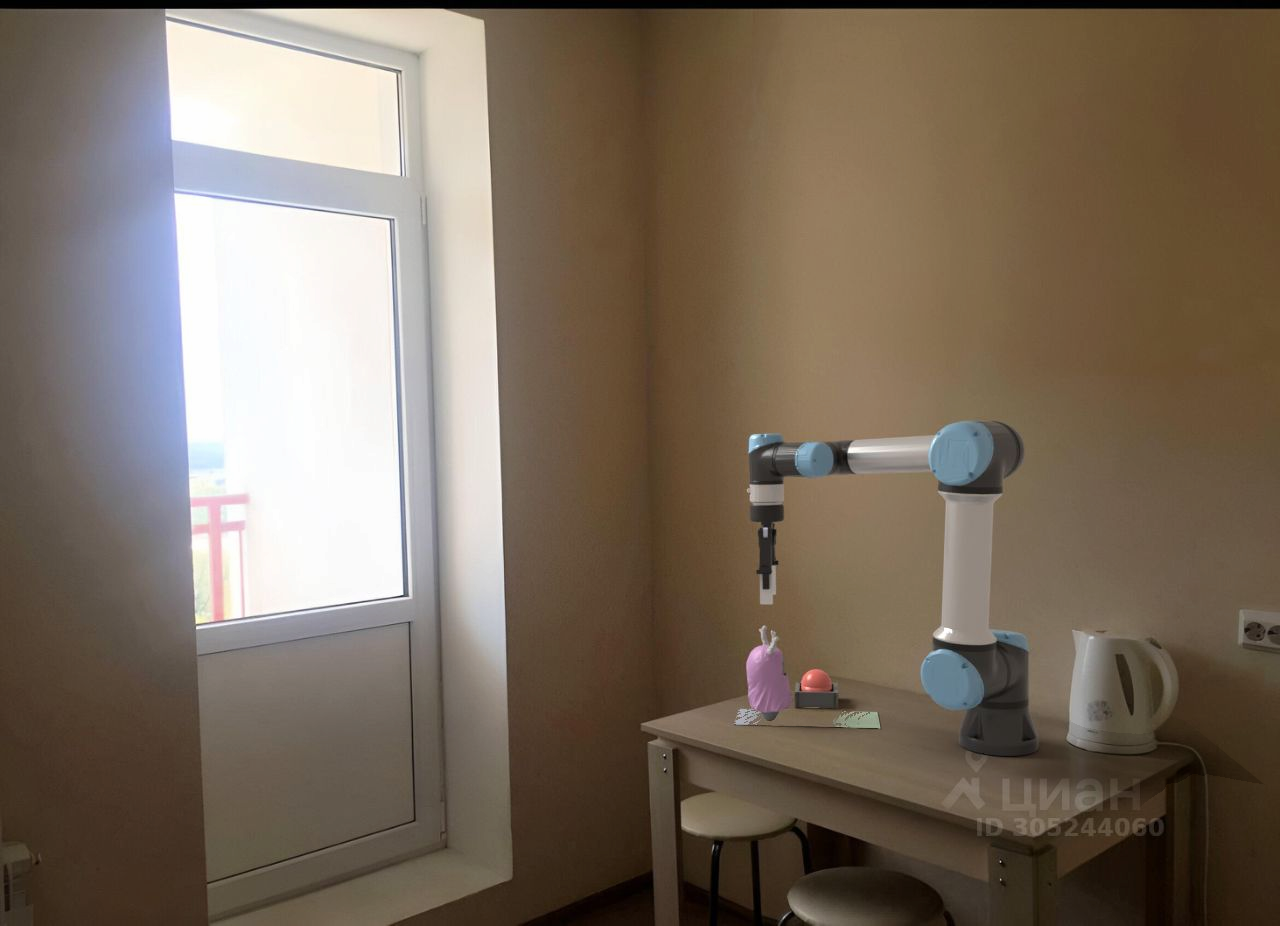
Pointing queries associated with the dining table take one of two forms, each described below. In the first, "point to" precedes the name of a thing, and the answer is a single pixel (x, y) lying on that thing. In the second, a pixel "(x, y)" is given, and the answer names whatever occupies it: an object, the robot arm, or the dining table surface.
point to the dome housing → (816, 697)
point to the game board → (864, 722)
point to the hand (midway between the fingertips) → (768, 599)
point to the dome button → (816, 681)
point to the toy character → (768, 678)
